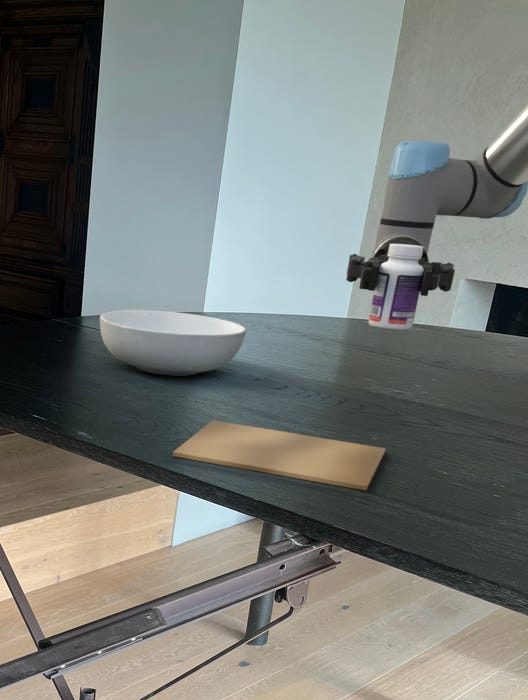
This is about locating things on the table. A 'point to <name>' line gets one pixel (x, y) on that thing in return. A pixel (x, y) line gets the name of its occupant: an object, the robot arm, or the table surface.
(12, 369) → the table surface
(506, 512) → the table surface
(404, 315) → the pill bottle
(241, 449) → the cork mat
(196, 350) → the serving bowl
